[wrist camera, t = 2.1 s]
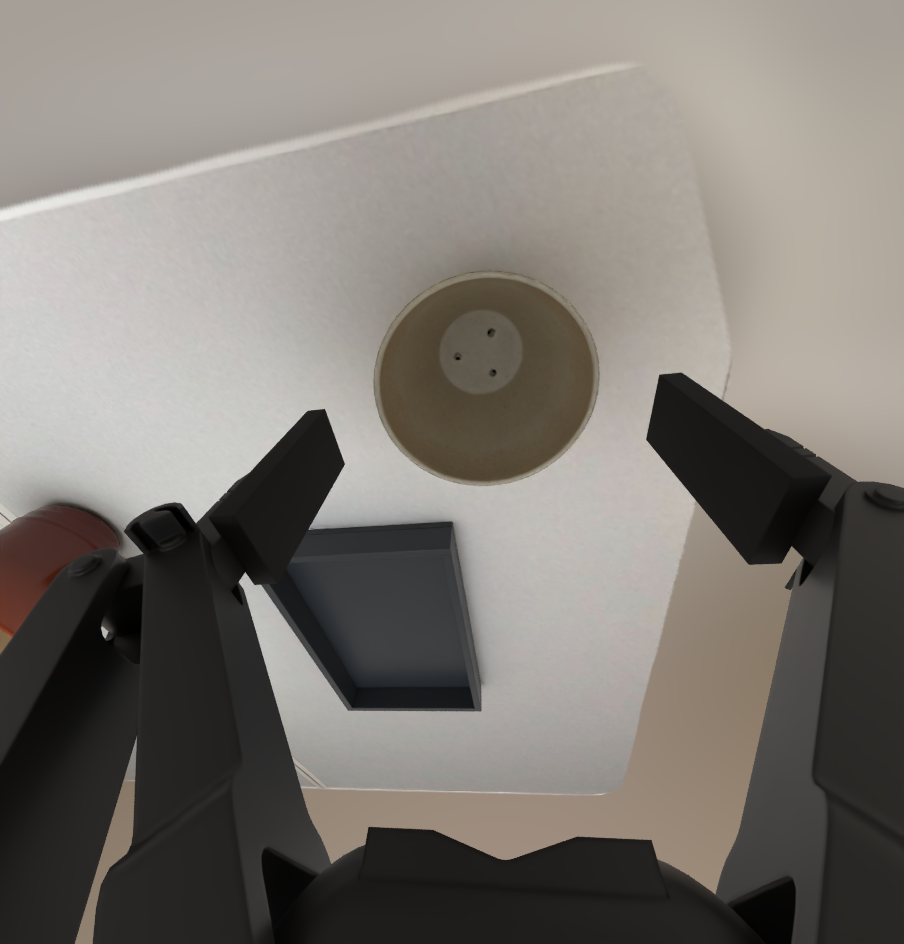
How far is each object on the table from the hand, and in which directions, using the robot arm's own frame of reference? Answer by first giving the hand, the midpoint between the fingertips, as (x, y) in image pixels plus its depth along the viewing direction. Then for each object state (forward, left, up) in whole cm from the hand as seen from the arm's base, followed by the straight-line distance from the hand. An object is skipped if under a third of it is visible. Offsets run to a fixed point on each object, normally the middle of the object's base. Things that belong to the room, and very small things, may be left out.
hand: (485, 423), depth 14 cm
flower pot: (0, 0, -9) cm, 9 cm away
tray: (+28, +14, -9) cm, 32 cm away
